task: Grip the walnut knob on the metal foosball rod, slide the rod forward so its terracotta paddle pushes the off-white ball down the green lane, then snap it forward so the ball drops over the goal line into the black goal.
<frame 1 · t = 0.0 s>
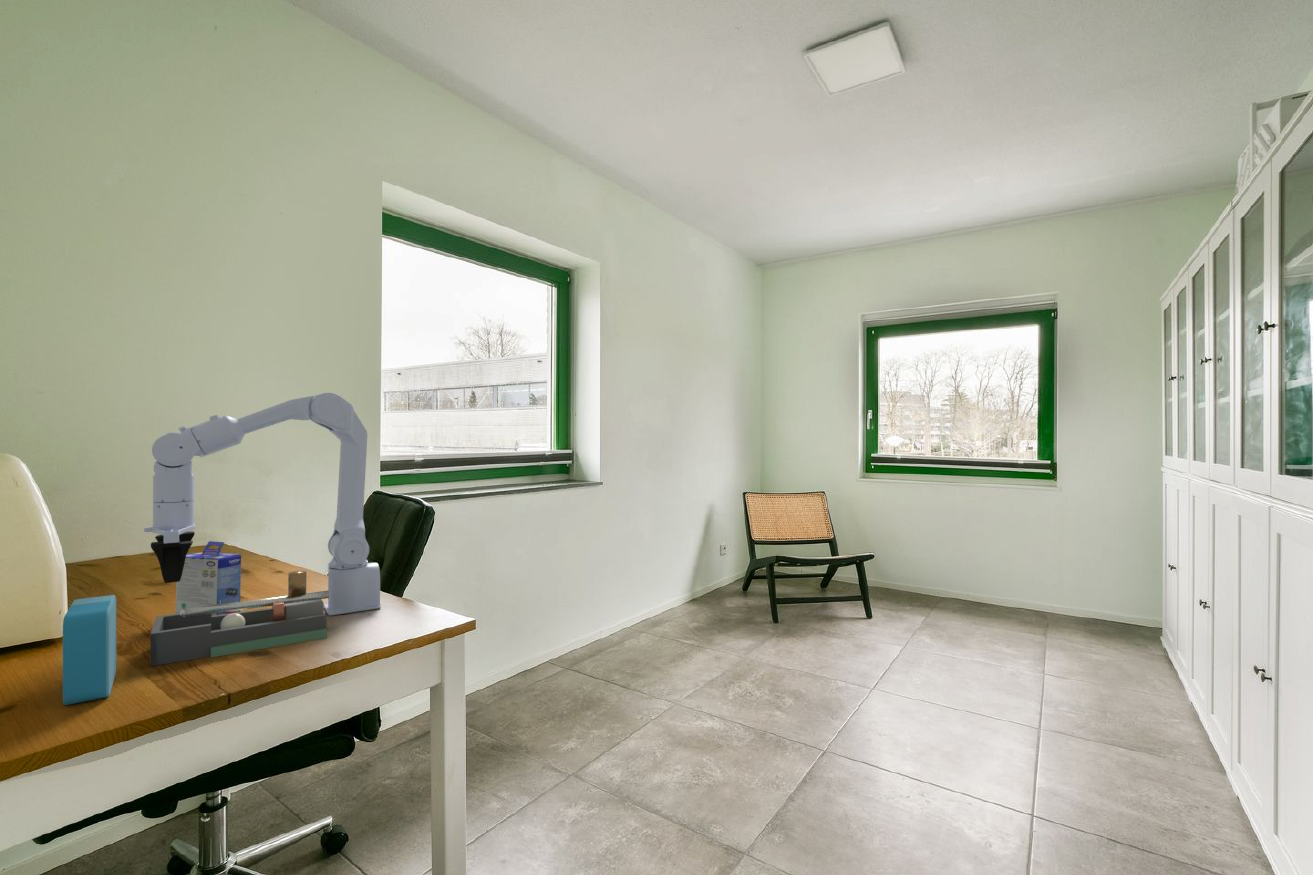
hand: (173, 577, 108), 10 cm above the table, tool pointing down, fingers open, 7 cm apart
ink cartridge box: (209, 618, 117), on the table
pitch: (257, 638, 106), on the table
ball: (233, 623, 104), point 3 cm above the table, touching pitch
kicker: (281, 599, 108), point 6 cm above the table, slide at 0.0 cm
blue flat block: (91, 690, 85), on the table
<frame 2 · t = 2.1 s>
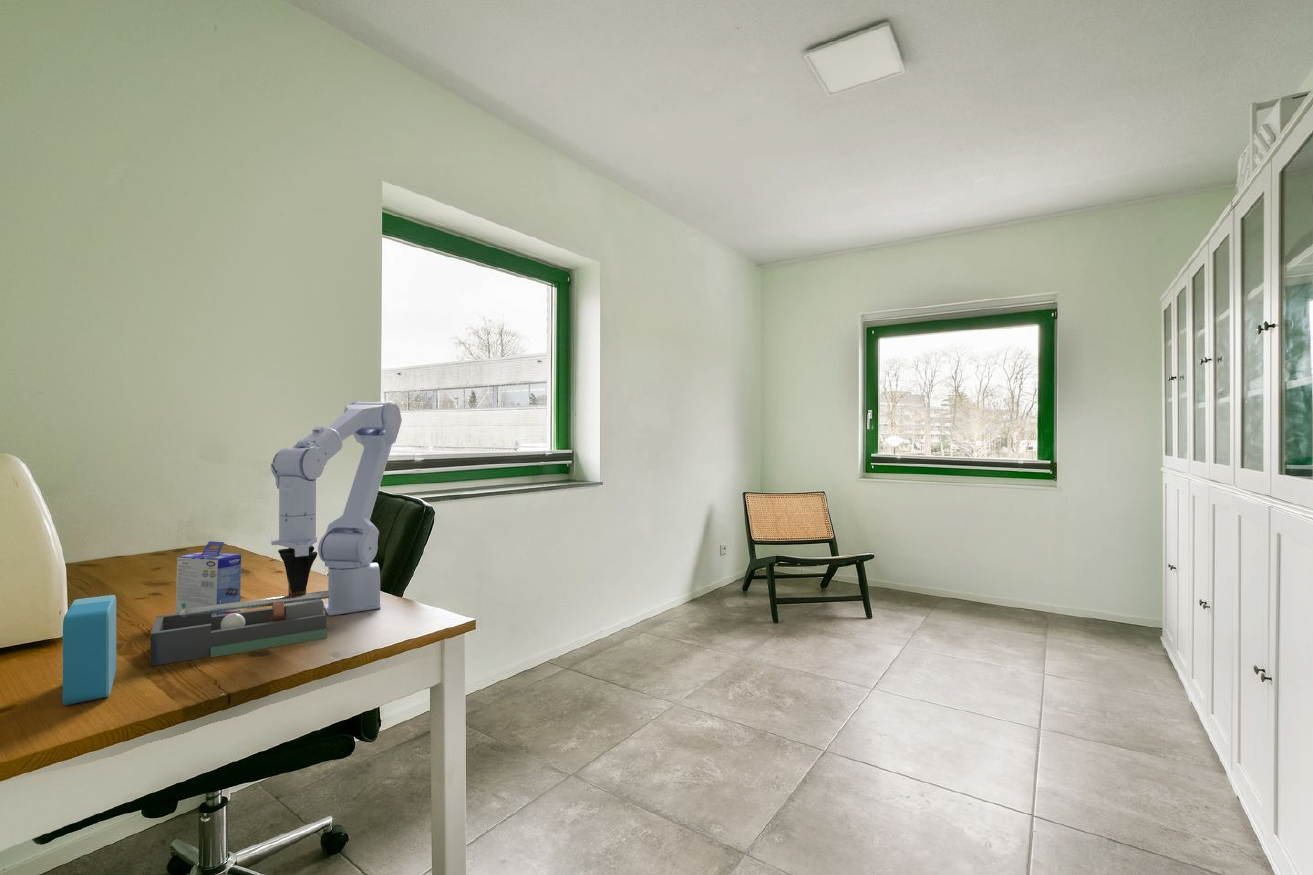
hand: (297, 589, 109), 8 cm above the table, tool pointing down, fingers closed on kicker, 3 cm apart
kicker: (281, 599, 108), point 6 cm above the table, slide at 0.0 cm, touching gripper
everything else where it was.
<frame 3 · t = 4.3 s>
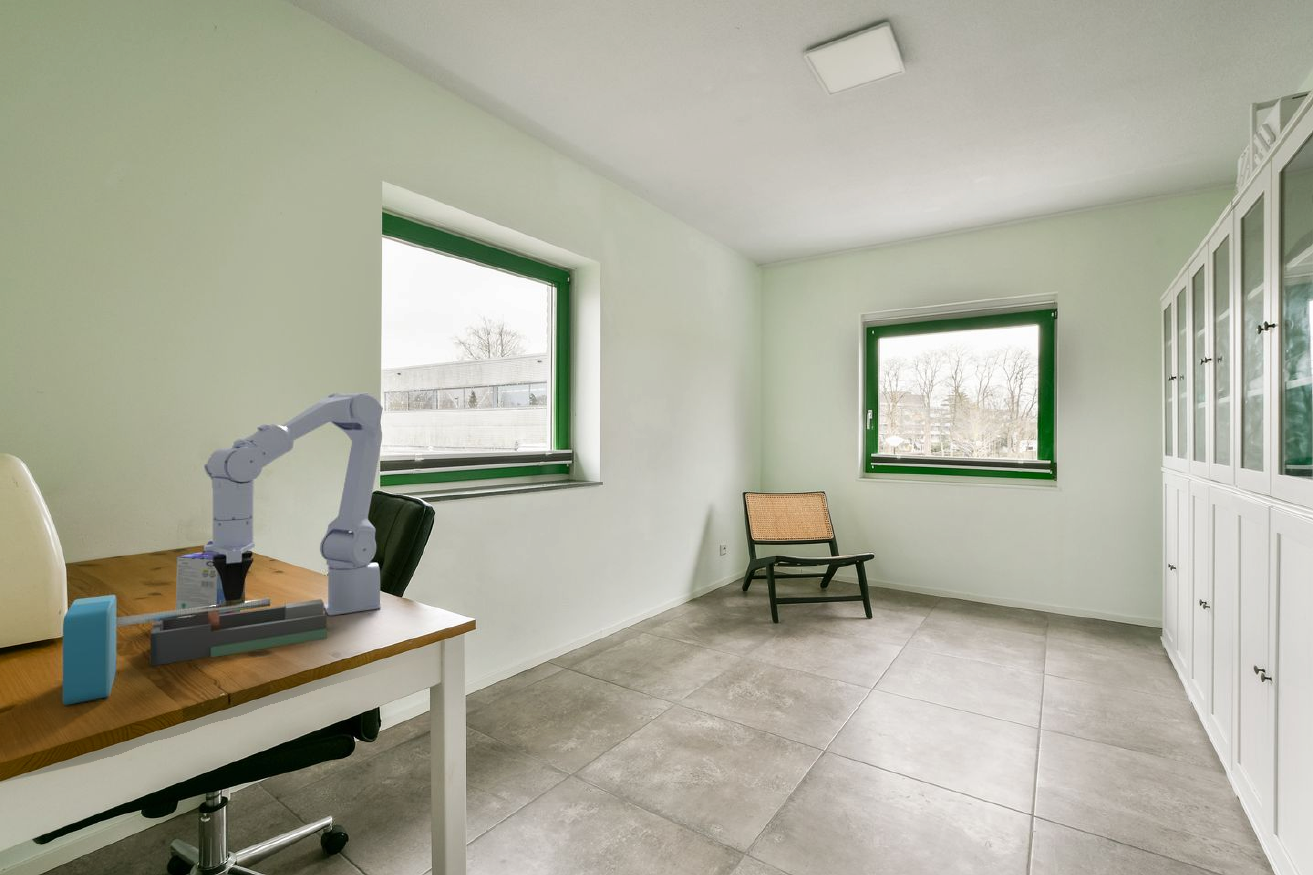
hand: (233, 597, 104), 8 cm above the table, tool pointing down, fingers closed on kicker, 3 cm apart
ball: (180, 640, 100), point 2 cm above the table, tilted 108°
kicker: (218, 607, 103), point 6 cm above the table, slide at 9.2 cm, touching gripper
everything else where it was.
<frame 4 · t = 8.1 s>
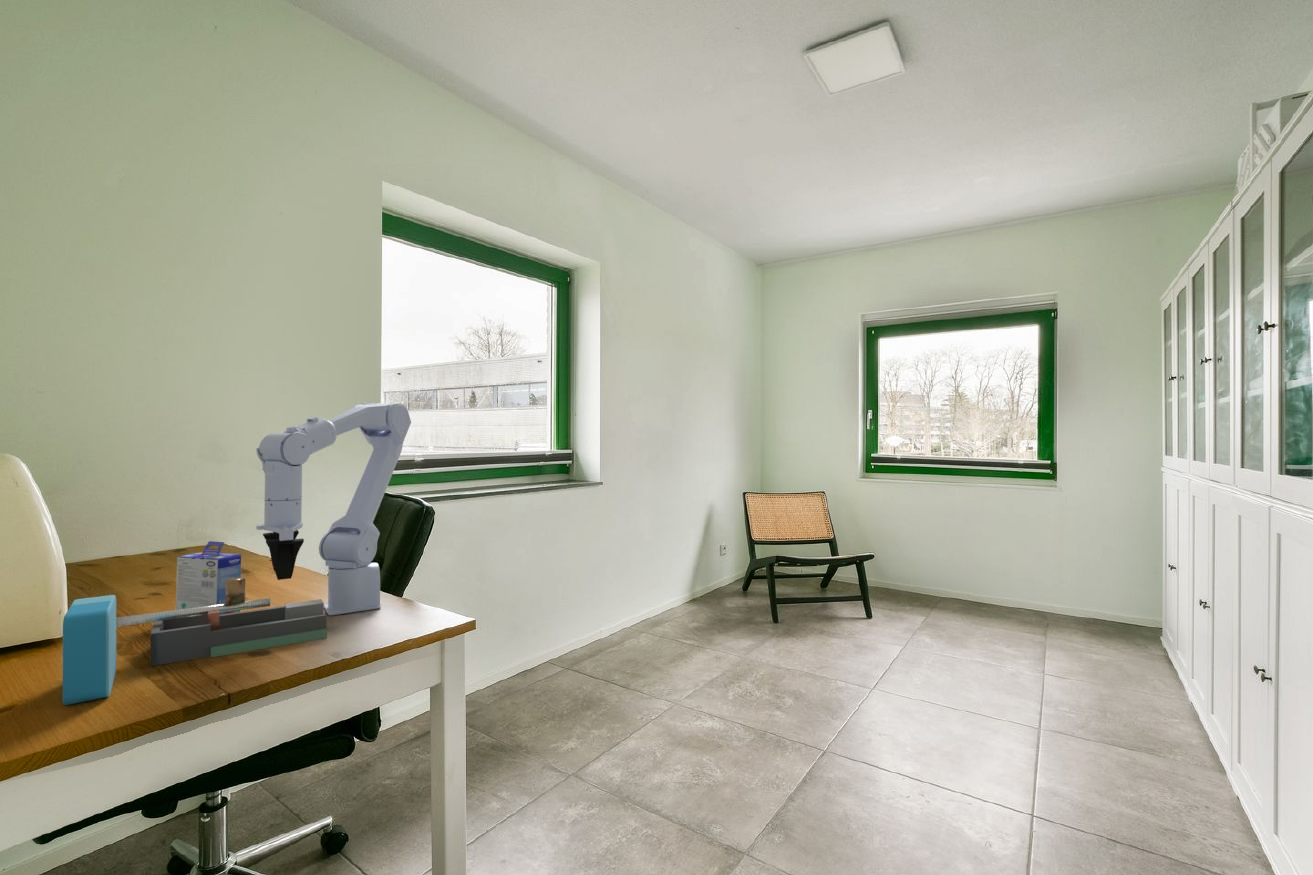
hand: (282, 574, 110), 10 cm above the table, tool pointing down, fingers open, 7 cm apart
ball: (194, 638, 101), point 2 cm above the table, tilted 167°
kicker: (218, 607, 103), point 6 cm above the table, slide at 9.2 cm
everything else where it was.
at the end: ball inside the target area (1.4 cm from its centre), point 1.7 cm above the table; kicker slide at 9.2 cm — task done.
